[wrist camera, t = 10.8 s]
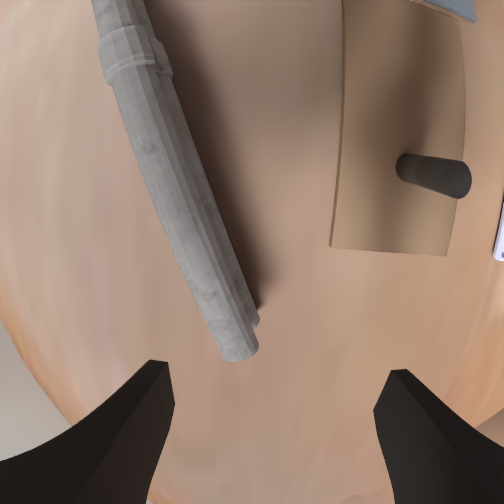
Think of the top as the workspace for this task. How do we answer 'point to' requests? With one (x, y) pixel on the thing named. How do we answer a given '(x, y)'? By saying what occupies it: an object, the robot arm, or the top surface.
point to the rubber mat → (458, 7)
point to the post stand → (399, 129)
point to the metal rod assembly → (175, 173)
